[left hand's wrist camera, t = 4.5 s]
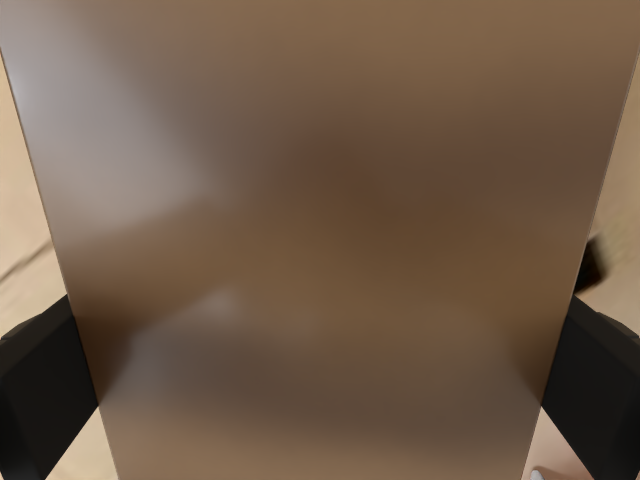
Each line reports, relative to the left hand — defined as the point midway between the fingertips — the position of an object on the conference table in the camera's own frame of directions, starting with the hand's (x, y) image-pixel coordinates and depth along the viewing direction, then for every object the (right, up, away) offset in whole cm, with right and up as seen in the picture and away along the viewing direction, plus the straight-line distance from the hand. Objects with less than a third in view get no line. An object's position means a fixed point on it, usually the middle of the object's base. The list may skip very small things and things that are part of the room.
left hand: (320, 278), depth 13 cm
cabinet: (0, +6, +2) cm, 7 cm away
